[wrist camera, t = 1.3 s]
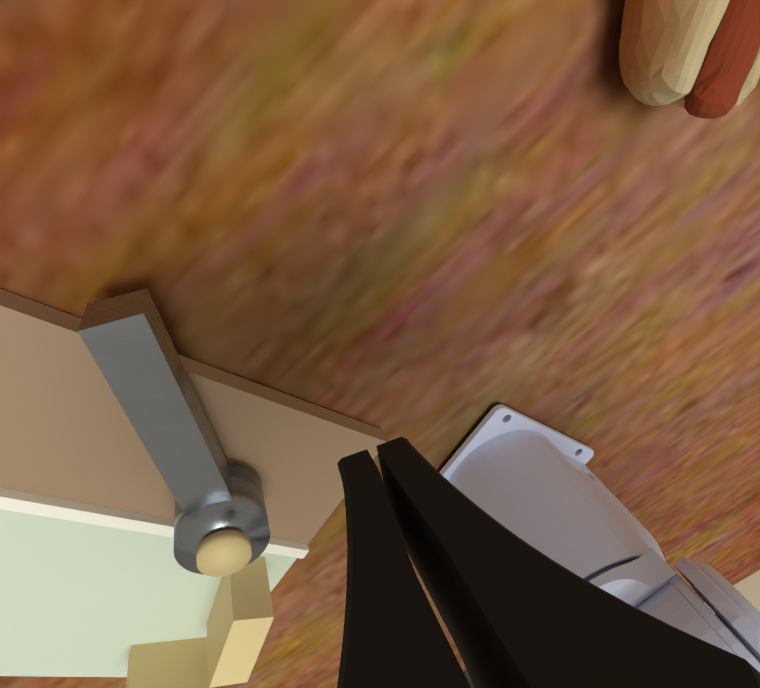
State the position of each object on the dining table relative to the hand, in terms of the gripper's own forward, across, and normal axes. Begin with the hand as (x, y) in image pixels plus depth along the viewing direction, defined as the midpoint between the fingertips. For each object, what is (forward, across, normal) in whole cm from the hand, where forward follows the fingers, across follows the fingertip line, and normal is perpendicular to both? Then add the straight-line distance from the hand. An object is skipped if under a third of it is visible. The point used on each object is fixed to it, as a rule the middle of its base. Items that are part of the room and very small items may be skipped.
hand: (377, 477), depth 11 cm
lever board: (+10, +10, +9) cm, 17 cm away
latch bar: (+9, +6, +3) cm, 11 cm away
